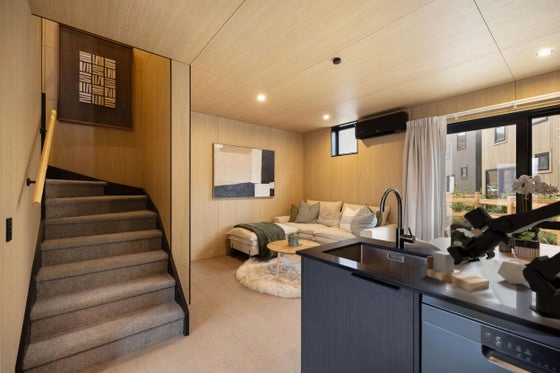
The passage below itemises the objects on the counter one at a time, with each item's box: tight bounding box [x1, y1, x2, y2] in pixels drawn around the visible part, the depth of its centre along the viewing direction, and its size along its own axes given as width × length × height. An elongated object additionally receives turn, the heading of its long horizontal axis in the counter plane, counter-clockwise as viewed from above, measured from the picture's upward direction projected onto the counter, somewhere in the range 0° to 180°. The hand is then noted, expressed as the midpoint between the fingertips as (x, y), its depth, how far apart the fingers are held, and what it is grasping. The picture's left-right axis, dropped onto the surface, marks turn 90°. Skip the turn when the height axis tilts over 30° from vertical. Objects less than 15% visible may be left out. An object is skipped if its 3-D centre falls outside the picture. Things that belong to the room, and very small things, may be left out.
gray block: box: [432, 250, 455, 273], centre depth 102 cm, size 5×5×7 cm
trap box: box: [426, 255, 490, 292], centre depth 97 cm, size 17×10×8 cm, turn 21°
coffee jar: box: [449, 221, 473, 261], centre depth 125 cm, size 10×8×19 cm
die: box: [496, 260, 526, 285], centre depth 96 cm, size 8×9×10 cm
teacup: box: [506, 258, 531, 268], centre depth 104 cm, size 10×8×5 cm
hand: (454, 264), depth 98 cm, fingers closed
